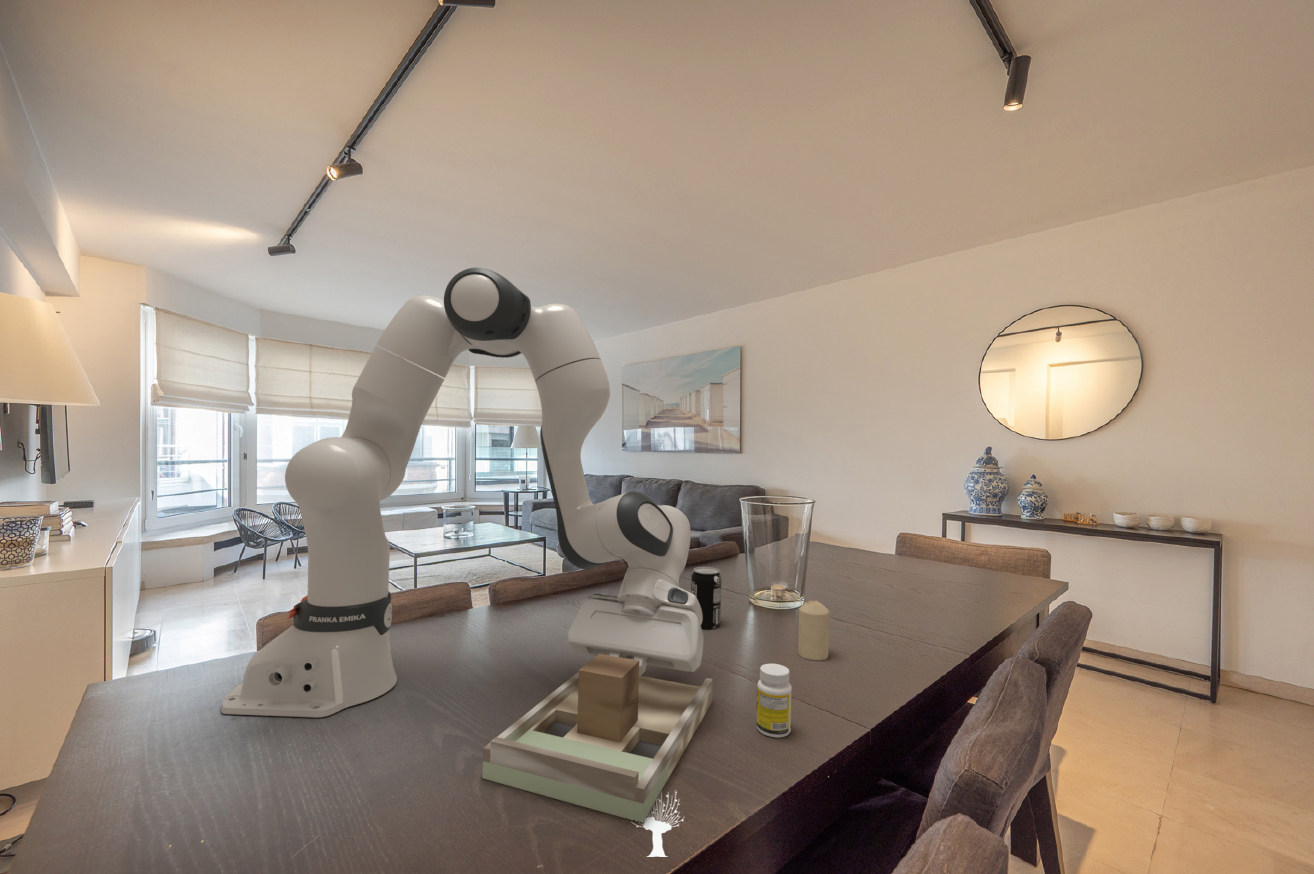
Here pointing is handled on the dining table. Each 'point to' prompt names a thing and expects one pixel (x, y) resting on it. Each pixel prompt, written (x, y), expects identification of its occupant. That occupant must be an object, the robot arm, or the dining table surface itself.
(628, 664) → the walnut block
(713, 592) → the beverage can
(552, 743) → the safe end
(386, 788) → the dining table surface
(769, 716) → the supplement bottle
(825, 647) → the candle
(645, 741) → the box
